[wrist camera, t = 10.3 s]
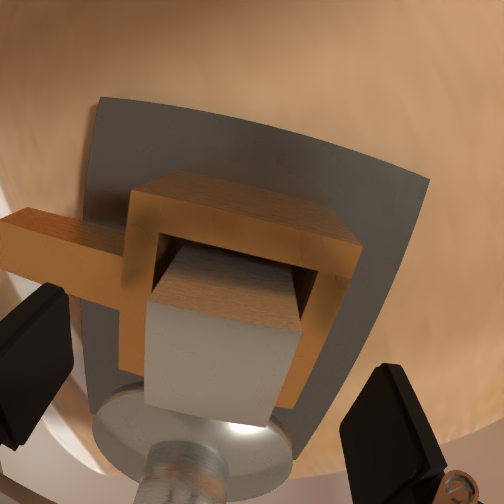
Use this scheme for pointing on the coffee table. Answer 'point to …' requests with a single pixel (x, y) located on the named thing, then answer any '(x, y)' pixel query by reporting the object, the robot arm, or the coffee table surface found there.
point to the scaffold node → (229, 237)
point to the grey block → (220, 335)
